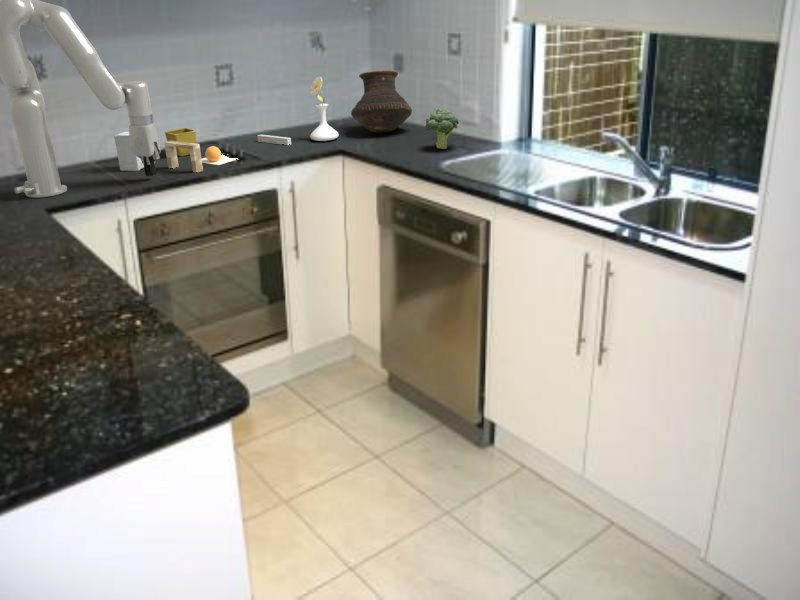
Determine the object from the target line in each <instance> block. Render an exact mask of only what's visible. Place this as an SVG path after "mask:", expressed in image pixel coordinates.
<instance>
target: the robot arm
mask: <svg viewBox="0 0 800 600" xmlns="http://www.w3.org/2000/svg"><path fill="white" fill-rule="evenodd" d="M22 25H23V26H28V27H31V28H34V29H37V30H42V31H45V32H47V33H48V34H49V36H50V37H51V39H52V40H53V41H54V43H55V44H56V45H57V46H58V47H59V48H60V50H61V51H62V53H63V54H64V55H65V57H66V59H68V61H69V63H71V65H72V66H73V68H74V69H75V70H76V72H77V73H78V74H79V75H80V76H81V78H82V79H83V81H84V82H85V83H86V84H87V86H88V87H89V88H90V90H91V91H92V93H93V94H94V95H95V97H96V98H97V99H98V100H99V102H100V103H101V104H102V106H103V107H105V108H106V109H108V110H112V111H116V110H120V109H121V108H122V107H123V106H124V105H126V109H127V114H128V120H129V125H128V132H129V138H130V146H131V152H132V153H133V154H134V155H136V156H137V157H139V158H140V159H141V161H142V164H144V168H143V169H144V174H145V176H146V177H152V176H156V175H157V169H156V165H155V164H156V161H157V160H160V158H161V157H160V154H161V146H160V145H161V144H160V139H159V135H158V134H159V133H158V132H157V129H156V126H155V122H154V116H153V110H152V109H153V108H152V105H151V99H150V98H151V97H150V91H149V86H148V83H147V82H145V81H143V80H142V81H141V80H134V81H128V82H116V80H115V78H113V76H112V75H111V73H110V72H109V71H108V69H107V68H106V66H105V65H104V63H103V61H102V60H101V57H100V56H99V53H98V52H97V50H96V49H95V47H94V46H93V44H92V43H91V41H90V40H89V39H88V38H87V36H86V34H85V33H84V32H83V31H82V29H81V28H80V27H79V25H78V24H77V23H76V21H75V20H74V18H73V17H72V14H71V13H70V12H69V10H67V8H65V7H63V6H60V5H56V4H54V3H53V4H52V3H48V2H45V1H41V0H0V78H1V80H2V82H3V83H4V84H5V85H6V88H7V91H8V94H9V97H10V100H11V102H10V106H9V110H10V111H9V112H10V117H11V120H12V123H13V127H14V130H15V134H16V139H17V141H18V142H17V143H18V146H19V150H20V154H21V159H22V163H23V168H24V171H25V175H26V179H27V180H26V181H24V184H22V185H21V186H17V187H14V189H13V190H14V192H15V194H20V193H21V194H22V193H24V194H25V196H26V197H28V198H32V199H33V198H35V199H38V198H39V199H40V198H48V197H54V196H58V195H61V194H63V193H65V192H67V191H68V186H67V185H65V184H61V178H60V175H59V169H58V165H57V159H56V156H55V152H54V148H53V147H54V146H53V143H52V138H51V134H50V133H51V132H50V130H49V125H48V120H47V117H46V103H45V99H44V96H43V92H42V89H41V86H40V83H39V79H38V75H37V73H36V69H35V67H34V65H33V63H32V61H31V60H30V59H29V58H28V56H27V54H26V50H25V48H24V43H23V40H22V37H21V33H20V29H21V26H22Z"/></svg>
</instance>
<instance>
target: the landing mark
mask: <svg viewBox="0 0 800 600" xmlns="http://www.w3.org/2000/svg"><path fill="white" fill-rule="evenodd" d="M221 154H222V155H221V157H220V159H219V160H218V161H216V162H211V161H209V160H208V159H207V158H206V157H203V158H202V157H201V159H202V164H208V165H215V166H220V165H223V164H226V163H230V162H234V161H237V160H239V159H238V158H229V157H227V156H225V155H223V154H224V153H221ZM236 159H237V160H236Z"/></svg>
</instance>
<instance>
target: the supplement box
mask: <svg viewBox="0 0 800 600" xmlns="http://www.w3.org/2000/svg"><path fill="white" fill-rule="evenodd" d="M113 138H114V142H115V148H116V155H117V158H118V165H119V170H120V171H125V172H130V171H131V172H134V171H135V172H139V171H140V170H141V169H144V164H142V161H141V159H140V158H139V157H137V156H136V155H134V154H133V153H132V152H131V146H130V138H129V131H123V132H120V133H118V134H115V135H113Z"/></svg>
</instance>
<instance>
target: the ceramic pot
mask: <svg viewBox="0 0 800 600" xmlns="http://www.w3.org/2000/svg"><path fill="white" fill-rule="evenodd" d="M398 75H399V73H398V72H397V71H394V70H374V71H373V70H372V71H366V72H362V73H360V74H359V76H358V78H360V79H361V80H362V83H363V92H364V93H363V95H362V96H361V98H360V100H358V101H357V103H356V104H355V106H354V107H352V109H351V112H350V114H351V116H352V118H353V119H355V121H357V123H359V125H362V126H363V127H364V128H366V130H368V131H370V132H371V133H374V134H382V133H388V132H390V133H391V132H393V131H394V130H396V129H397V128H398V127H400V126H402V125H403V123H404V122H405V121H406V120H407V119H409V117H410V116H411V115H412V111H413V109H412V107H411V106H410V105H409V103H408V102H407V101H406V100H405V98H404V97H403V96H401V94H400V93H398V91H397V90H396V78H397V77H398Z"/></svg>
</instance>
